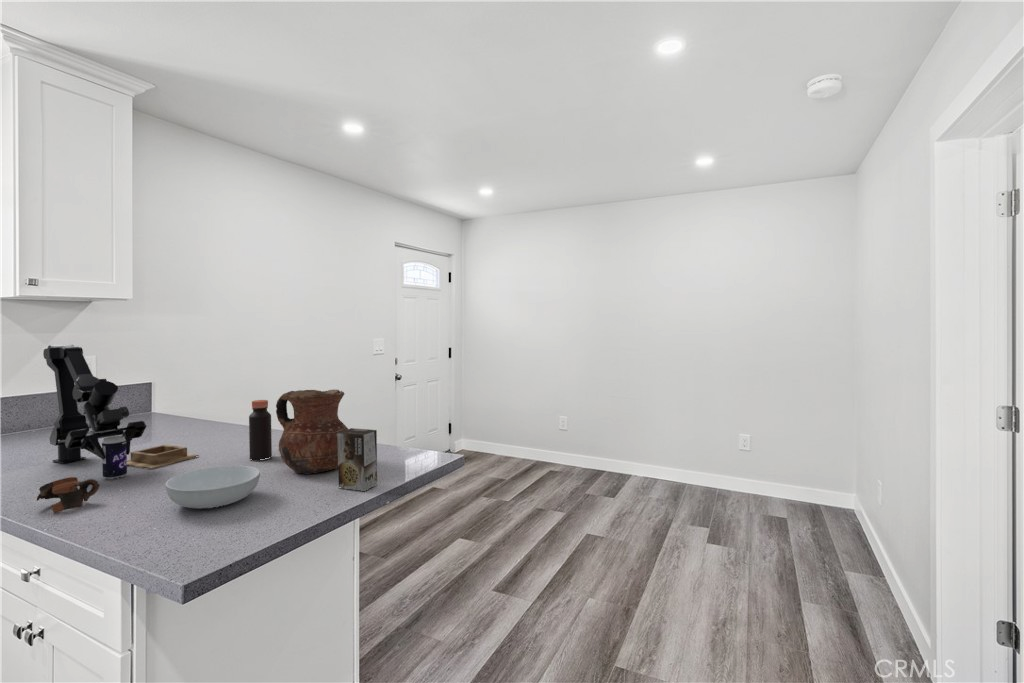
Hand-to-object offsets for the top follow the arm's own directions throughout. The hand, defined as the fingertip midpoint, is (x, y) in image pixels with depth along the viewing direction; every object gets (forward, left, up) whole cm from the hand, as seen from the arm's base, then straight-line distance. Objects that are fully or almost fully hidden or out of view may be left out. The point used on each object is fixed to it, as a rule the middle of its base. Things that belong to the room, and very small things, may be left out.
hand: (116, 456), depth 146 cm
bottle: (+23, +31, -7) cm, 39 cm away
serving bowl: (+46, -4, -7) cm, 46 cm away
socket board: (-7, +17, -7) cm, 20 cm away
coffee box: (+73, +19, -7) cm, 75 cm away
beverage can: (-1, 0, -7) cm, 7 cm away
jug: (+49, +29, -7) cm, 57 cm away
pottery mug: (+13, -19, -7) cm, 24 cm away
